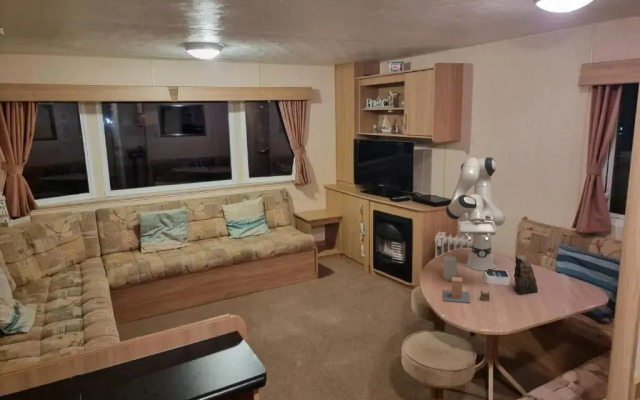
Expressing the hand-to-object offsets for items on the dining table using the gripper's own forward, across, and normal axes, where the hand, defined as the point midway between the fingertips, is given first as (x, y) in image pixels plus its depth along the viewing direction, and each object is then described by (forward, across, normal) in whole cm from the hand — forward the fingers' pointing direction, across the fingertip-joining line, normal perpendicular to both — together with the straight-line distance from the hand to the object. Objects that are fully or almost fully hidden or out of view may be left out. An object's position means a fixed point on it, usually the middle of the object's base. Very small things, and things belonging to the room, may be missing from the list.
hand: (478, 240), depth 246 cm
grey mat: (+30, -12, +10) cm, 34 cm away
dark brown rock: (+20, +26, +21) cm, 39 cm away
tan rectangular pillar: (+30, -12, +10) cm, 34 cm away
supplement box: (+11, -14, +30) cm, 35 cm away
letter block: (+31, +3, +10) cm, 32 cm away
